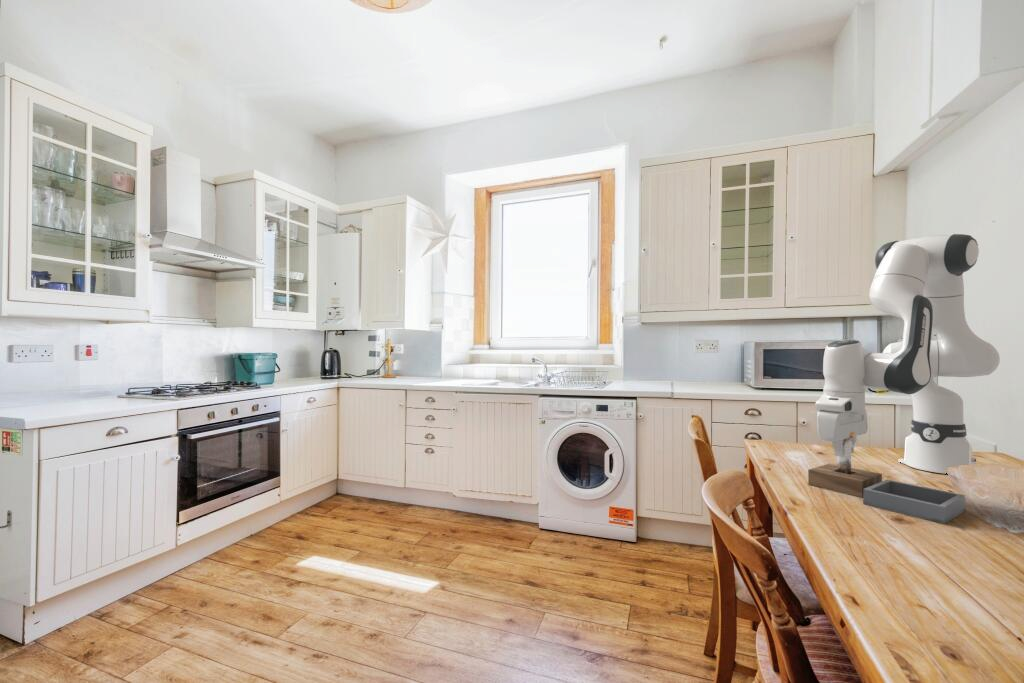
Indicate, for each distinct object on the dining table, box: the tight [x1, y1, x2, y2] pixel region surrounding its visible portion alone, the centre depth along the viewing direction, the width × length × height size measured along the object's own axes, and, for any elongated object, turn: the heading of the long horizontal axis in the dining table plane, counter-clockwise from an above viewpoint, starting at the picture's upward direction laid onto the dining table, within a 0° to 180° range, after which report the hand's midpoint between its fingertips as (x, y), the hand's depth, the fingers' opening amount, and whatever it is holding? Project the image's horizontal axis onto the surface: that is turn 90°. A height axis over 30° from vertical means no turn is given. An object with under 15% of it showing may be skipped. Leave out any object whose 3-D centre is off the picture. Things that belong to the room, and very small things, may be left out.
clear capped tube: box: [836, 432, 854, 475], centre depth 117 cm, size 4×4×13 cm
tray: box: [863, 479, 966, 525], centre depth 102 cm, size 14×14×4 cm
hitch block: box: [807, 463, 883, 498], centre depth 117 cm, size 12×12×4 cm
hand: (844, 454), depth 117 cm, fingers closed on clear capped tube, 4 cm apart
